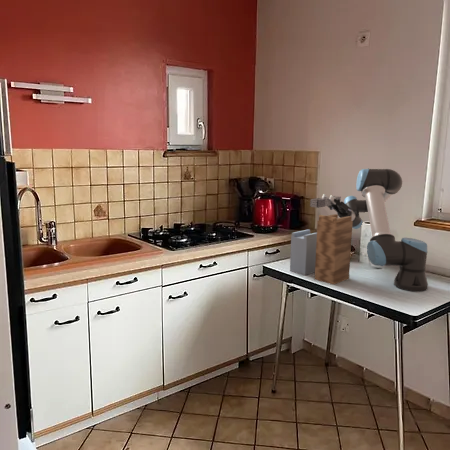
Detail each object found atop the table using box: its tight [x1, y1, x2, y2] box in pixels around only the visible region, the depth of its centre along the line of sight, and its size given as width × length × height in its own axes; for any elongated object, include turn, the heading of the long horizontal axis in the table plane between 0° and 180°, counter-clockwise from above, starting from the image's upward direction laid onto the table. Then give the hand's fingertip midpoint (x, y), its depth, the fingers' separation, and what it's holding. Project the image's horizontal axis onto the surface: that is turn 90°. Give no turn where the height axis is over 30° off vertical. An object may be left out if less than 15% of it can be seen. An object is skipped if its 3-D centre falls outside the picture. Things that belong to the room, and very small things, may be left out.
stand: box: [314, 213, 353, 285], centre depth 228 cm, size 11×14×33 cm
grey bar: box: [309, 195, 342, 209], centre depth 249 cm, size 5×22×4 cm, turn 133°
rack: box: [289, 229, 317, 276], centre depth 243 cm, size 10×14×21 cm
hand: (326, 196), depth 249 cm, fingers closed on grey bar, 4 cm apart
